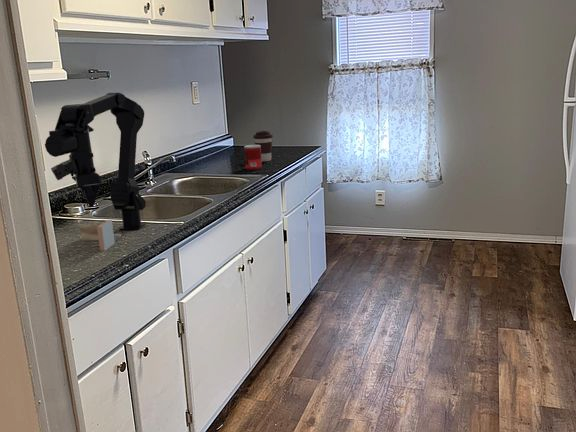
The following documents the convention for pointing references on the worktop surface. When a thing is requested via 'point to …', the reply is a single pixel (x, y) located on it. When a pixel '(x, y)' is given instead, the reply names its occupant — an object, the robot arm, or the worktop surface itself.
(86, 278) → the worktop surface
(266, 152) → the coffee cup
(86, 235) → the turner
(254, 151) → the canned food
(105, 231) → the tile
